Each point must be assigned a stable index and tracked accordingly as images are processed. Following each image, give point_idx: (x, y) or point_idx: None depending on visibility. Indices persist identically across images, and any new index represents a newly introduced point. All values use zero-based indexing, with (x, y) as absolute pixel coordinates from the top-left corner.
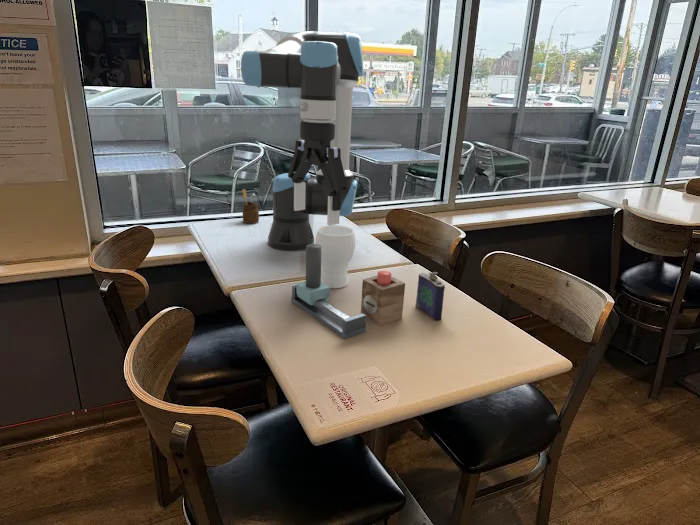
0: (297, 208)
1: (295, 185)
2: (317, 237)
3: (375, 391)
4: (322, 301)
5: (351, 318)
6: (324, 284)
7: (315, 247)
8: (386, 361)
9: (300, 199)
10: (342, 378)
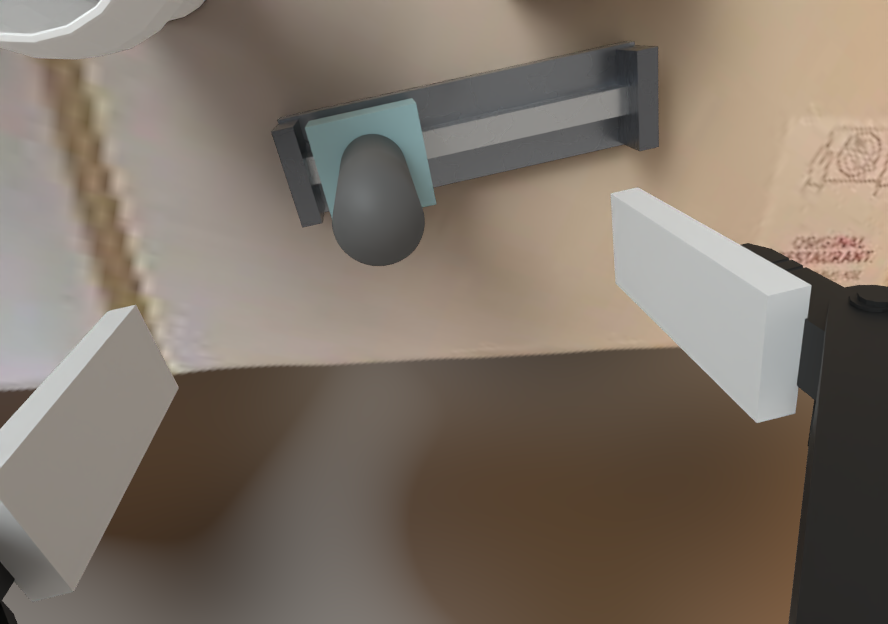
0: (165, 383)
1: (78, 572)
2: (31, 52)
3: (866, 175)
4: (433, 140)
5: (649, 117)
6: (378, 113)
7: (399, 220)
8: (796, 73)
9: (123, 406)
10: (778, 227)
